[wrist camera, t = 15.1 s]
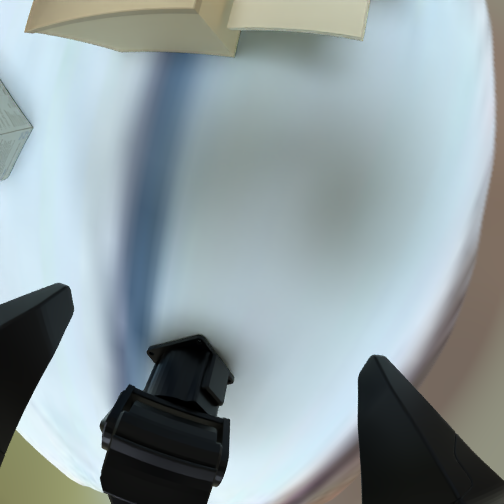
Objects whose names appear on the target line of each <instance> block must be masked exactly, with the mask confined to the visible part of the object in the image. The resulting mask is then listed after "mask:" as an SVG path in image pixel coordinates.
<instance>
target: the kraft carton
mask: <svg viewBox="0 0 504 504" xmlns="http://www.w3.org/2000/svg"><path fill="white" fill-rule="evenodd" d="M233 2H234V0H34V1H33V4H32V7H31V10H30V13H29V17H28V20H27V24H26V28H25V31H24V32H25V33H41V34H47V35H52V36H58V37H63V38H68V39H72V40H77V41H81V42H85V43H89V44H93V45H97V46H101V47H105V48H108V49H112V50H115V51H119V52H179V53H195V54H207V55H217V56H225V57H233V58H234V57H235V53H236V49H237V44H238V40H239V36H240V32H241V30H230V29H228V28H227V25H228V21H229V17H230V13H231V9H232V6H233Z"/></svg>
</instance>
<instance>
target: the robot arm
mask: <svg viewBox="0 0 504 504" xmlns="http://www.w3.org/2000/svg"><path fill="white" fill-rule="evenodd" d="M73 312H74V305H73V300H72V294H71V289H70V287H69V286H67V285H64V284H62V283H56V284H53V285H50V286H47V287H45V288H42V289H39V290H37V291H34V292H31V293H29V294H26V295H24V296H21V297H18V298H16V299H13V300H11V301H8V302H6V303H3V304H1V305H0V466H1V464H2V461H3V459H4V456H5V453H6V451H7V448H8V446H9V443H10V441H11V439H12V436H13V434H14V432H15V430H16V427H17V425H18V423H19V421H20V419H21V416H22V414H23V412H24V410H25V408H26V406H27V404H28V402H29V400H30V398H31V396H32V394H33V392H34V390H35V388H36V386H37V384H38V383H39V381H40V379H41V377H42V375H43V373H44V371H45V370H46V368H47V366H48V364H49V363H50V361H51V359H52V357H53V355H54V353H55V351H56V349H57V347H58V345H59V343H60V341H61V338H62V336H63V334H64V332H65V330H66V328H67V326H68V324H69V322H70V320H71V318H72V315H73ZM198 340H200V341H198ZM147 354H148V356H149V357H150V358H151V359H152V360H153V362H154V363H155V366H154V368H153V370H152V372H151V375H150V377H149V379H148V382H147V384H146V386H145V389H144V391H142V390H139V389H137V388H135V386H132V385H130V384H129V385H128V387H127V388H126V390H123V392H121V393H120V395H119V397H118V399H117V401H116V403H115V405H114V407H113V408H112V409H111V411H110V412H109V413H108V414H107V415H106V416H105V417H104V419H103V420H102V421H101V423H100V429H101V431H102V433H103V434H102V448H103V449H105V450H107V453H106V456H105V460H104V463H103V467H102V470H101V476H100V481H101V485H102V489H103V492H104V493H106V494H108V496H109V499H110V502H111V504H207V502H208V499H209V496H210V493H211V490H212V486H215V487H217V486H219V484H220V483H221V481H222V479H223V477H224V474H225V471H226V468H227V463H228V458H229V436H230V419H227V418H220V417H217V413H218V408H219V406H222V405H223V403H224V397H225V392H226V387H227V385H228V384H232V383H233V382H234V377H233V376H232V374H231V373H230V372H229V369H228V368H227V367H226V365H225V364H224V363H223V361H222V360H221V359H220V357H219V356H218V355H217V354H216V353H215V352H214V350H213V349H212V347H211V346H210V345H209V343H208V342H207V340H206V339H205V338H204V337H203V336H201V335H197V336H193V337H189V338H185V339H181V340H177V341H173V342H169V343H165V344H161V345H157V346H153V347H149V348H148V350H147ZM358 435H359V448H360V464H361V486H362V504H504V480H502V479H501V478H500V477H499V476H498V475H497V474H496V473H495V472H494V471H493V470H492V469H491V468H490V467H489V466H488V465H487V464H485V463H484V462H483V461H482V460H481V459H480V458H479V457H478V456H477V455H476V454H475V453H474V452H473V451H472V450H471V449H470V448H469V447H468V446H467V444H466V443H465V442H464V441H463V440H462V439H461V438H460V437H459V435H458V434H455V431H454V430H453V429H452V428H451V427H450V426H449V425H448V423H447V422H446V421H445V420H444V419H443V418H442V417H441V416H440V415H439V414H438V412H437V411H436V410H435V409H434V408H433V407H432V406H431V405H430V404H429V403H428V401H426V399H425V398H424V397H423V396H422V395H421V394H420V393H419V392H418V391H417V390H416V389H415V387H414V386H413V385H412V384H411V383H410V382H409V381H408V380H407V379H406V378H405V377H404V376H403V375H402V374H401V372H400V371H399V370H398V369H397V368H396V367H395V366H394V365H393V364H392V363H391V362H390V361H389V360H388V359H387V358H386V357H385V356H382V355H372V356H370V358H369V359H368V361H367V362H366V364H365V365H364V367H363V368H362V370H361V372H360V374H359V377H358Z"/></svg>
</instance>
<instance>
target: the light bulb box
mask: <svg viewBox="0 0 504 504" xmlns="http://www.w3.org/2000/svg"><path fill="white" fill-rule="evenodd" d="M32 129H33V127H32V126H31V125H30V123H29V122H28V120H27V119H26V118H25V116H24V115H23V113H22V112H21V111H20V109H19V108H18V106H17V105H16V103H15V102H14V101H13V99H12V98H11V96H10V95H9V93H8V92H7V90H6V89H5V87H4V86H3V84H2V82H1V81H0V181H2V180H5V179H7V178H8V177H9V174H10V172H11V170H12V168H13V166H14V163H15V162H16V159H17V157H18V155H19V153H20V151H21V149H22V147H23V145H24V143H25V142H26V140H27V138H28V136H29V134H30V132H31V131H32Z"/></svg>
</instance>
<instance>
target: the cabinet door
mask: <svg viewBox="0 0 504 504" xmlns="http://www.w3.org/2000/svg"><path fill="white" fill-rule="evenodd" d="M369 5H370V0H234V2H233V6H232V9H231V13H230V17H229V21H228V25H227V28H228V29H230V30H268V31H289V32H302V33H312V34H321V35H329V36H336V37H342V38H348V39H354V40H359V41H363V38H364V33H365V28H366V22H367V16H368V11H369Z"/></svg>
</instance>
